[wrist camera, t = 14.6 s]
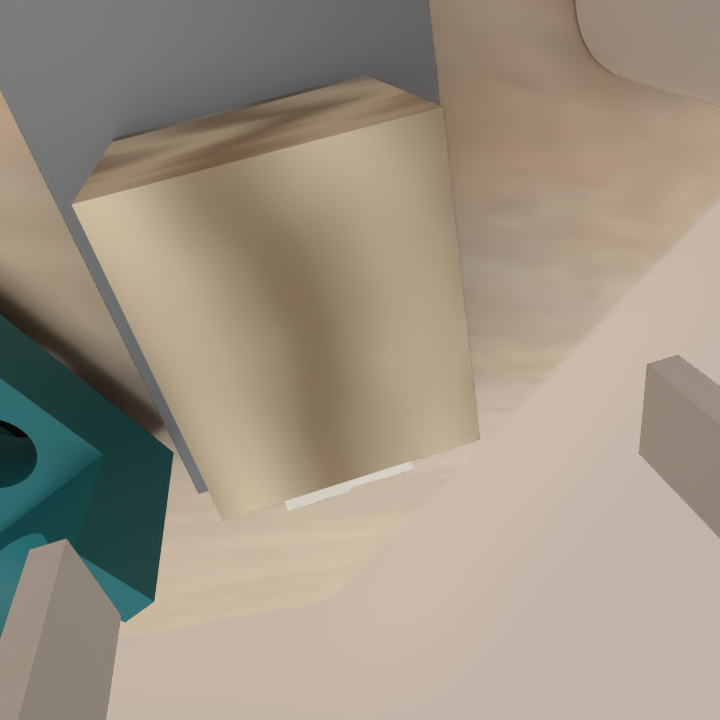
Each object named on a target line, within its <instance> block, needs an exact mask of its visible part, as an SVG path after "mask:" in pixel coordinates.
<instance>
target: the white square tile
mask: <svg viewBox="0 0 720 720" xmlns="http://www.w3.org/2000/svg"><path fill="white" fill-rule="evenodd" d="M348 491H351V489H350V485H349V482H348V481H347V482H343V483H340V484H337V485H334V486H331V487H328V488H325V489H321V490H318V491H315V492H312V493H309V494H306V495H303V496H300V497H296V498H293V499H290V500H287V501H284V502H285V504H286V507H287V510H288V511H289V510H292V509H296V508H299V507H302V506H305V505H308V504H311V503H314V502H317V501H320V500H324V499H327V498H330V497H333V496H336V495H339V494H342V493H345V492H348Z"/></svg>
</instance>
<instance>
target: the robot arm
mask: <svg viewBox="0 0 720 720" xmlns="http://www.w3.org/2000/svg"><path fill="white" fill-rule="evenodd" d="M639 454H640V455H641V456H642V457H643V458H644V459H645V460H646V462H647V463H648V464H649V465H650V466H651V467H652V468H653V469H654V470H655V471H656V472H657V473H658V474H659V475H660V476H661V477H662V478H663V479H664V480H665V481H666V482H667V484H668V485H669V486H670V487H671V488H672V489H673V490H674V491H675V492H676V493H677V494H678V495H679V496H680V497H681V498H682V499H683V500H684V501H685V502H686V503H687V504H688V506H690V507H691V509H692V510H693V511H694V512H695V513H696V514H697V515H698V516H699V517H700V518H701V519H702V520H703V521H704V522H705V523H706V524H707V525H708V526H709V528H711V530H712V531H713V532H714V533H715V534H716V535H717V536H718V537H719V538H720V386H719V385H717V384H716V383H715V382H714V381H712V380H711V379H710V378H708V377H707V376H706V375H704V374H703V373H702V372H700V371H699V370H698V369H696V368H695V367H694V366H692V365H691V364H690V363H688V362H687V361H686V360H684V359H683V358H682V357H680V356H679V355H676V356H673V357H669V358H666V359H663V360H660V361H656V362H653V363H649V364H647V370H646V381H645V393H644V404H643V414H642V425H641V436H640V447H639ZM120 620H121V615H120V613H119V612H118V611H117V609H116V608H115V606H114V605H113V603H112V602H111V601H110V599H109V598H108V596H107V595H106V594H105V592H104V591H103V589H102V588H101V587H100V585H99V584H98V582H97V581H96V580H95V578H94V577H93V575H92V574H91V572H90V571H89V570H88V568H87V567H86V565H85V564H84V563H83V561H82V560H81V558H80V557H79V556H78V554H77V553H76V551H75V550H74V549H73V547H72V546H71V544H70V543H69V541H68V540H67V539H64V540H60V541H57V542H54V543H50V544H47V545H44V546H40V547H37V548H34V549H30V550H29V553H28V556H27V559H26V562H25V565H24V568H23V571H22V574H21V577H20V580H19V583H18V586H17V589H16V592H15V595H14V598H13V601H12V604H11V608H10V611H9V614H8V617H7V620H6V623H5V626H4V629H3V632H2V635H1V638H0V720H106V716H107V709H108V702H109V696H110V689H111V682H112V675H113V668H114V661H115V654H116V647H117V641H118V634H119V627H120Z"/></svg>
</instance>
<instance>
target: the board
mask: <svg viewBox="0 0 720 720" xmlns="http://www.w3.org/2000/svg"><path fill="white" fill-rule="evenodd" d="M360 75H367V76H369V77H372V78H374V79H377V80H379V81H381V82H384V83H386V84H389V85H391V86H394V87H396V88H398V89H401V90H403V91H406V92H408V93H411V94H413V95H415V96H418V97H420V98H423V99H425V100H428V101H430V102H432V103H435V104H437V105H440V99H439V90H438V81H437V72H436V63H435V54H434V45H433V36H432V27H431V18H430V9H429V0H0V90H1V92H2V94H3V96H4V98H5V100H6V102H7V104H8V106H9V109H10V111H11V113H12V115H13V117H14V119H15V121H16V123H17V125H18V127H19V129H20V131H21V133H22V135H23V137H24V139H25V141H26V143H27V145H28V147H29V149H30V151H31V153H32V155H33V157H34V159H35V161H36V163H37V166H38V168H39V170H40V172H41V174H42V176H43V178H44V180H45V182H46V184H47V186H48V188H49V190H50V192H51V194H52V196H53V198H54V200H55V202H56V204H57V206H58V208H59V210H60V212H61V214H62V216H63V218H64V220H65V222H66V225H67V227H68V229H69V231H70V233H71V235H72V237H73V239H74V241H75V243H76V245H77V247H78V249H79V251H80V253H81V255H82V257H83V259H84V261H85V263H86V265H87V267H88V269H89V271H90V273H91V275H92V277H93V279H94V282H95V284H96V286H97V288H98V290H99V292H100V294H101V296H102V298H103V300H104V302H105V304H106V306H107V308H108V310H109V312H110V314H111V316H112V318H113V320H114V322H115V324H116V326H117V328H118V330H119V332H120V334H121V336H122V339H123V341H124V343H125V345H126V347H127V349H128V351H129V353H130V355H131V357H132V359H133V361H134V363H135V365H136V367H137V369H138V371H139V373H140V375H141V377H142V379H143V381H144V383H145V385H146V387H147V389H148V391H149V393H150V396H151V398H152V400H153V402H154V404H155V406H156V408H157V410H158V412H159V414H160V416H161V418H162V420H163V422H164V424H165V426H166V428H167V430H168V432H169V434H170V436H171V438H172V440H173V442H174V444H175V446H176V448H177V450H178V453H179V455H180V457H181V459H182V461H183V463H184V465H185V467H186V469H187V471H188V473H189V475H190V477H191V479H192V481H193V483H194V485H195V487H196V489H197V491H198V493H202V492H206V491H209V490H208V488H207V486H206V484H205V482H204V480H203V478H202V476H201V474H200V471H199V469H198V467H197V465H196V463H195V461H194V459H193V457H192V455H191V453H190V451H189V448H188V446H187V444H186V442H185V440H184V438H183V436H182V434H181V432H180V430H179V428H178V426H177V423H176V421H175V419H174V417H173V415H172V413H171V411H170V409H169V407H168V405H167V403H166V401H165V398H164V396H163V394H162V392H161V390H160V388H159V386H158V384H157V382H156V380H155V378H154V376H153V373H152V371H151V369H150V367H149V365H148V363H147V361H146V359H145V357H144V355H143V353H142V350H141V348H140V346H139V344H138V342H137V340H136V338H135V336H134V334H133V332H132V330H131V328H130V325H129V323H128V321H127V319H126V317H125V315H124V313H123V311H122V309H121V307H120V305H119V303H118V300H117V298H116V296H115V294H114V292H113V290H112V288H111V286H110V284H109V282H108V280H107V278H106V275H105V273H104V271H103V269H102V267H101V265H100V263H99V261H98V259H97V257H96V255H95V252H94V250H93V248H92V246H91V244H90V242H89V240H88V238H87V236H86V234H85V232H84V230H83V227H82V225H81V223H80V221H79V219H78V217H77V215H76V213H75V211H74V209H73V207H72V203H73V201H74V200H75V198H76V197H77V195H78V194H79V192H80V191H81V189H82V187H83V186H84V184H85V183H86V181H87V180H88V178H89V177H90V175H91V173H92V172H93V170H94V169H95V167H96V166H97V164H98V163H99V161H100V159H101V158H102V156H103V155H104V153H105V152H106V150H107V149H108V147H109V145H110V144H111V142H112V141H113V139H114V138H117V137H120V136H124V135H128V134H132V133H136V132H140V131H144V130H148V129H152V128H156V127H160V126H164V125H168V124H172V123H176V122H180V121H183V120H187V119H191V118H195V117H199V116H203V115H207V114H211V113H215V112H219V111H223V110H227V109H231V108H235V107H239V106H242V105H246V104H250V103H254V102H258V101H262V100H266V99H270V98H274V97H278V96H282V95H286V94H290V93H294V92H298V91H301V90H305V89H309V88H313V87H317V86H321V85H325V84H329V83H333V82H337V81H341V80H345V79H349V78H353V77H357V76H360Z"/></svg>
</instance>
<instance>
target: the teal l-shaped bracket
mask: <svg viewBox="0 0 720 720" xmlns="http://www.w3.org/2000/svg"><path fill="white" fill-rule="evenodd" d="M0 420H2V421H5V422H8V423H10V424H12V425H14V426H16V427H18V428H19V429H21V430H22V431H23V432H25V433H26V434H27V435H28V436H29V437H24V438H19V437H16V436H14V435H13V434H11V433H10V432H8V431H7V430H6V429H4V428H3V427H1V426H0V638H1V635H2V632H3V629H4V626H5V623H6V620H7V617H8V614H9V611H10V608H11V604H12V601H13V598H14V595H15V592H16V589H17V586H18V583H19V580H20V577H21V574H22V571H23V568H24V565H25V562H26V559H27V556H28V553H29V550H30V549H34V548H37V547H40V546H44V545H47V544H50V543H54V542H57V541H60V540H64V539H67V540H68V541H69V543H70V544H71V546H72V547H73V549H74V550H75V551H76V553H77V554H78V556H79V557H80V558H81V560H82V561H83V563H84V564H85V565H86V567H87V568H88V570H89V571H90V572H91V574H92V575H93V577H94V578H95V580H96V581H97V582H98V584H99V585H100V587H101V588H102V589H103V591H104V592H105V594H106V595H107V596H108V598H109V599H110V601H111V602H112V603H113V605H114V606H115V608H116V609H117V611H118V612H119V613H120V615H121V621H123V622H126V621H128V620H129V619H130V618H132V617H133V616H135V615H136V614H137V613H139V612H140V611H142V610H143V609H144V608H146V607H147V606H149V605H150V604H151V603H153V602H154V599H155V592H156V584H157V576H158V568H159V561H160V553H161V545H162V538H163V530H164V522H165V514H166V507H167V499H168V491H169V483H170V476H171V468H172V460H173V452H172V451H171V450H170V449H168V448H167V447H166V446H165V445H163V444H162V443H161V442H160V441H158V440H157V439H156V438H155V437H153V436H152V435H151V434H150V433H148V432H147V431H146V430H145V429H143V428H142V427H141V426H140V425H138V424H137V423H136V422H135V421H133V420H132V419H131V418H130V417H128V416H127V415H126V414H125V413H123V412H122V411H121V410H120V409H118V408H117V407H116V406H115V405H113V404H112V403H111V402H110V401H108V400H107V399H106V398H105V397H103V396H102V395H101V394H100V393H98V392H97V391H96V390H95V389H93V388H92V387H91V386H90V385H88V384H87V383H86V382H85V381H83V380H82V379H81V378H80V377H78V376H77V375H76V374H75V373H73V372H72V371H71V370H70V369H68V368H67V367H66V366H65V365H63V364H62V363H61V362H60V361H58V360H57V359H56V358H55V357H53V356H52V355H51V354H50V353H48V352H47V351H46V350H45V349H43V348H42V347H41V346H40V345H38V344H37V343H36V342H35V341H33V340H32V339H31V338H30V337H28V336H27V335H26V334H25V333H23V332H22V331H21V330H20V329H18V328H17V327H16V326H15V325H13V324H12V323H11V322H10V321H8V320H7V319H6V318H5V317H3V316H2V315H1V314H0Z"/></svg>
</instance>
